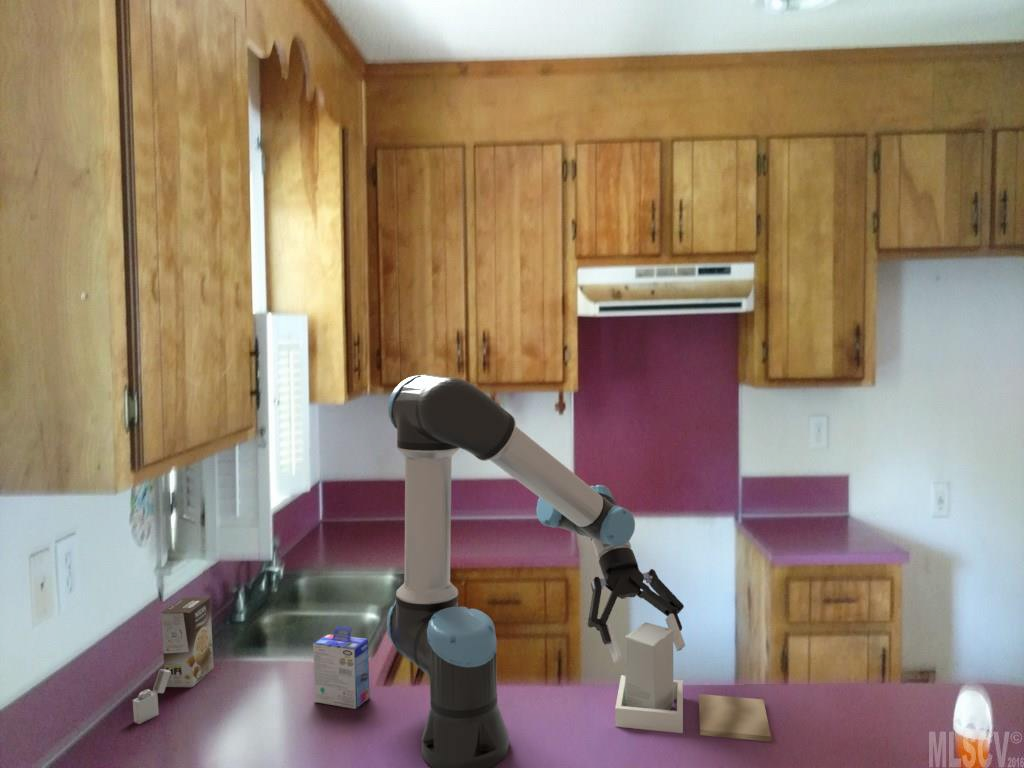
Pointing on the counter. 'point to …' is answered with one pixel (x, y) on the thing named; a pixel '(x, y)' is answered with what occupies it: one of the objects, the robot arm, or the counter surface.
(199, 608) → the coffee box
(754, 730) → the oak pad
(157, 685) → the lighter
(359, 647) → the ink cartridge box
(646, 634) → the skincare box
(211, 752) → the counter surface
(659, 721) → the holder collar
